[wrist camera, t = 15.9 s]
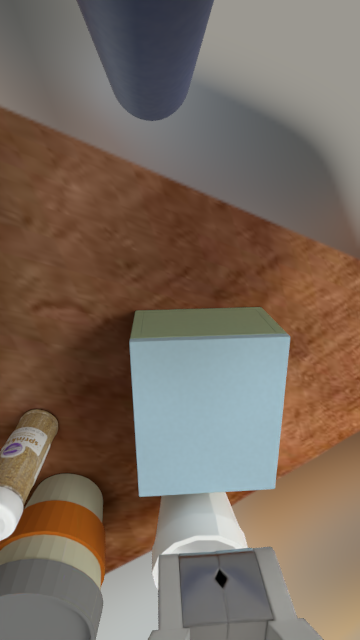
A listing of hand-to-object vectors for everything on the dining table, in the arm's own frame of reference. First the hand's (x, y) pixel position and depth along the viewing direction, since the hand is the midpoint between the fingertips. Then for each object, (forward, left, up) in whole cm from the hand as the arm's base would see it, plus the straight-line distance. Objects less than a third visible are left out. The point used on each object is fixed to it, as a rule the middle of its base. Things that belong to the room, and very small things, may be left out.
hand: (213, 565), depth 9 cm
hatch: (+10, +3, -21) cm, 24 cm away
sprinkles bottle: (+16, -16, -29) cm, 37 cm away
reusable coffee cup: (+28, -14, -29) cm, 43 cm away
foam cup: (+24, +2, -29) cm, 38 cm away
